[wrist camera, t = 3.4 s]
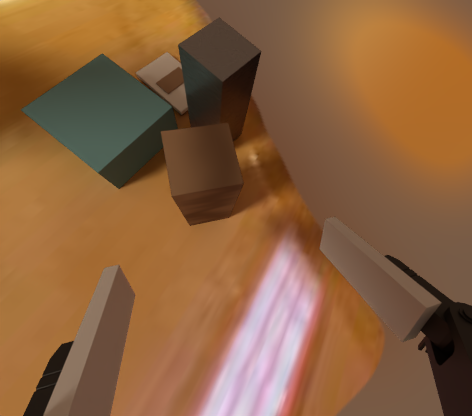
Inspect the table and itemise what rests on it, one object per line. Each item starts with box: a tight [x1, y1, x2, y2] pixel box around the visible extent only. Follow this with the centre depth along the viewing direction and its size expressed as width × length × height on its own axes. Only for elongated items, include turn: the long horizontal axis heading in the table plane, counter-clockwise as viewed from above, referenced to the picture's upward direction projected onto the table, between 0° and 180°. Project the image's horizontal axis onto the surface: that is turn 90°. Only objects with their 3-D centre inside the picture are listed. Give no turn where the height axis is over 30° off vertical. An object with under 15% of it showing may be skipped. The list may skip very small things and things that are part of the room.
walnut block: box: [161, 123, 244, 226], centre depth 20 cm, size 5×5×12 cm
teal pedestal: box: [21, 54, 178, 189], centre depth 25 cm, size 11×11×5 cm
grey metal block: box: [178, 18, 261, 141], centre depth 23 cm, size 5×5×12 cm
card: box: [136, 52, 188, 115], centre depth 29 cm, size 9×6×1 cm, turn 48°
